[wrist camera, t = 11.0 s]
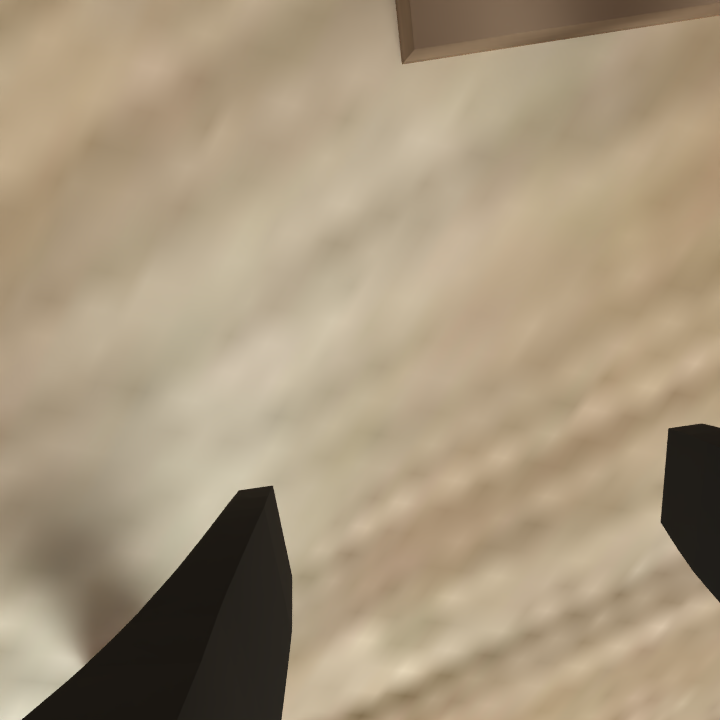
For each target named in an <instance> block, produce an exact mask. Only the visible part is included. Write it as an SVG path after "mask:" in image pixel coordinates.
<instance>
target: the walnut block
mask: <svg viewBox="0 0 720 720" xmlns="http://www.w3.org/2000/svg"><path fill="white" fill-rule="evenodd" d="M395 1H396V11H397V20H398V30H399V39H400V49H401V58H402V64H407V63H414V62H420V61H427V60H433V59H440V58H446V57H453V56H459V55H466V54H472V53H479V52H485V51H492V50H498V49H505V48H511V47H518V46H524V45H530V44H537V43H543V42H550V41H556V40H563V39H569V38H576V37H582V36H589V35H595V34H602V33H608V32H615V31H621V30H628V29H634V28H641V27H647V26H654V25H660V24H667V23H673V22H679V21H686V20H692V19H699V18H705V17H712V16H718V15H720V0H395Z"/></svg>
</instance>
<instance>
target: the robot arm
mask: <svg viewBox="0 0 720 720" xmlns="http://www.w3.org/2000/svg"><path fill="white" fill-rule="evenodd" d="M661 523H662V525H663V527H664V528H665V530H666V531H667V533H668V534H669V536H670V538H671V539H672V541H673V542H674V544H675V545H676V547H677V549H678V550H679V551H680V553H681V554H682V556H683V557H684V559H685V560H686V562H687V563H688V564H689V566H690V567H691V569H692V570H693V572H694V573H695V574H696V575H697V576H698V578H699V579H700V580H701V581H702V582H703V584H704V585H705V586H706V587H707V588H708V589H709V591H710V592H711V593H712V594H713V595H714V596H715V597H716V599H717V600H718V601H719V602H720V428H718V427H714V426H710V425H706V424H696V425H689V426H682V427H675V428H669V429H668V441H667V453H666V465H665V477H664V489H663V501H662V513H661ZM291 634H292V574H291V569H290V564H289V560H288V555H287V550H286V546H285V541H284V536H283V531H282V527H281V522H280V517H279V513H278V508H277V503H276V498H275V494H274V489H273V486H267V487H260V488H253V489H246V490H239V491H238V492H237V494H236V495H235V496H234V497H233V499H232V500H231V501H230V502H229V504H228V505H227V506H226V507H225V509H224V510H223V511H222V513H221V514H220V515H219V517H218V518H217V519H216V520H215V522H214V523H213V524H212V526H211V527H210V528H209V530H208V531H207V532H206V533H205V535H204V536H203V537H202V539H201V540H200V541H199V542H198V544H197V545H196V546H195V547H194V549H193V550H192V551H191V552H190V554H189V555H188V556H187V557H186V558H185V560H184V561H183V562H182V563H181V565H180V566H179V567H178V568H177V570H176V571H175V572H174V573H173V574H172V575H171V577H170V578H169V579H168V580H167V581H166V582H165V583H164V584H163V586H162V587H161V588H160V589H159V590H158V591H157V592H156V593H155V595H154V596H153V597H152V598H151V599H150V600H149V601H148V602H147V604H146V605H145V606H144V607H143V608H142V609H141V610H140V611H139V613H138V614H137V615H136V616H135V617H134V618H133V619H132V620H131V621H130V622H129V623H128V624H127V625H126V626H125V627H124V628H123V629H122V630H121V631H120V632H119V633H118V634H117V635H116V636H115V637H114V638H113V639H112V640H111V641H110V642H109V643H108V644H107V645H106V646H105V647H104V648H103V649H102V650H100V651H99V652H98V653H97V654H96V655H95V656H94V657H93V658H92V659H91V660H90V661H89V662H88V663H87V664H86V665H85V666H84V667H83V668H81V669H80V670H79V671H78V672H77V673H76V674H75V675H74V676H73V677H71V678H70V679H69V680H68V681H67V682H66V683H65V684H63V685H62V686H61V687H60V688H59V689H57V690H56V691H55V692H54V693H53V694H52V695H50V696H49V697H48V698H47V699H46V700H44V701H43V702H42V703H41V704H40V705H38V706H37V707H36V708H35V709H34V710H33V711H31V712H30V713H29V714H28V715H27V716H25V717H24V718H23V719H22V720H281V719H282V710H283V702H284V694H285V686H286V678H287V669H288V661H289V652H290V644H291Z"/></svg>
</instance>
